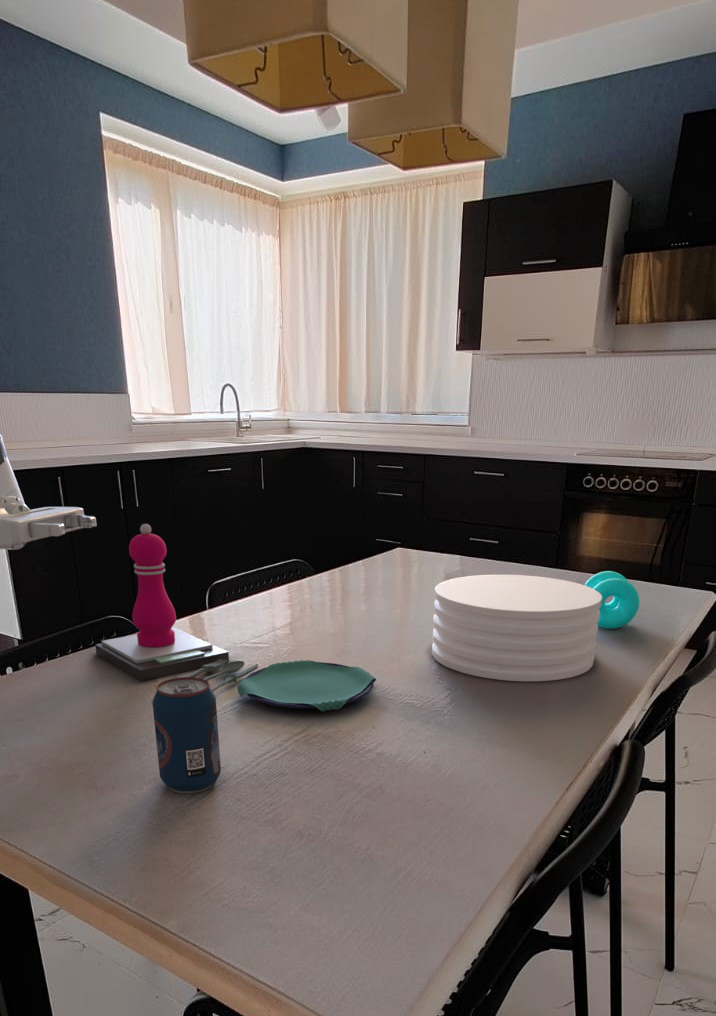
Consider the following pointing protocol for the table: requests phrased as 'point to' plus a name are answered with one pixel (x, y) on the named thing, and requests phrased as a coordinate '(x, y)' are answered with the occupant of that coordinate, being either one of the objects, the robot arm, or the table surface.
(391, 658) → the table surface
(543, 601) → the plate stack
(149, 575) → the pepper mill
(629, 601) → the donuts
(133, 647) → the kitchen scale
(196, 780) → the soda can
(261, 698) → the cutlery set
